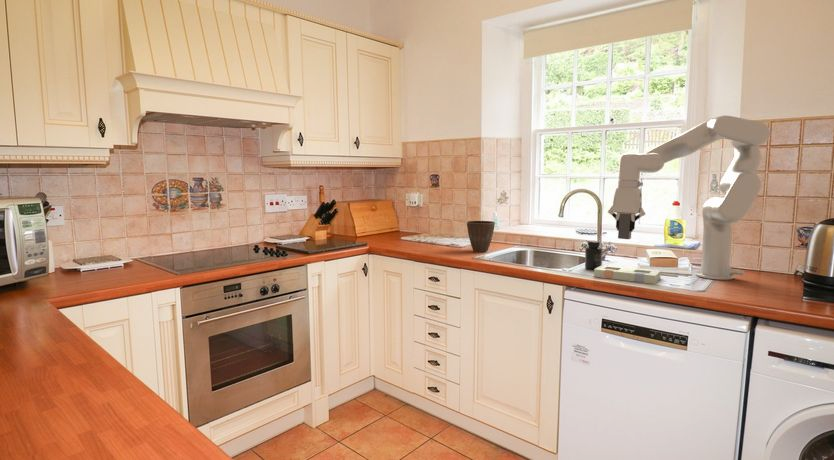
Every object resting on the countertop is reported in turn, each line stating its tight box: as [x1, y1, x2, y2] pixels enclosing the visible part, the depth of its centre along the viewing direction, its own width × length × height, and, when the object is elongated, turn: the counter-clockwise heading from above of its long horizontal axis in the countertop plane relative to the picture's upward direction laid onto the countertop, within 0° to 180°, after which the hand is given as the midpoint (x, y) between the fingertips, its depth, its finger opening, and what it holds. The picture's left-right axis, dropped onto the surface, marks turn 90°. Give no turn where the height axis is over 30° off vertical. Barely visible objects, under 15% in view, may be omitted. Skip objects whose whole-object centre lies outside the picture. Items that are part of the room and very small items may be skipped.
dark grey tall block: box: [617, 213, 632, 240], centre depth 190 cm, size 4×4×11 cm
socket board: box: [593, 264, 662, 285], centre depth 187 cm, size 22×12×3 cm, turn 54°
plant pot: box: [466, 220, 496, 253], centre depth 253 cm, size 15×15×16 cm
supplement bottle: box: [584, 240, 603, 271], centre depth 204 cm, size 7×7×12 cm
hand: (624, 230), depth 190 cm, fingers closed on dark grey tall block, 4 cm apart
